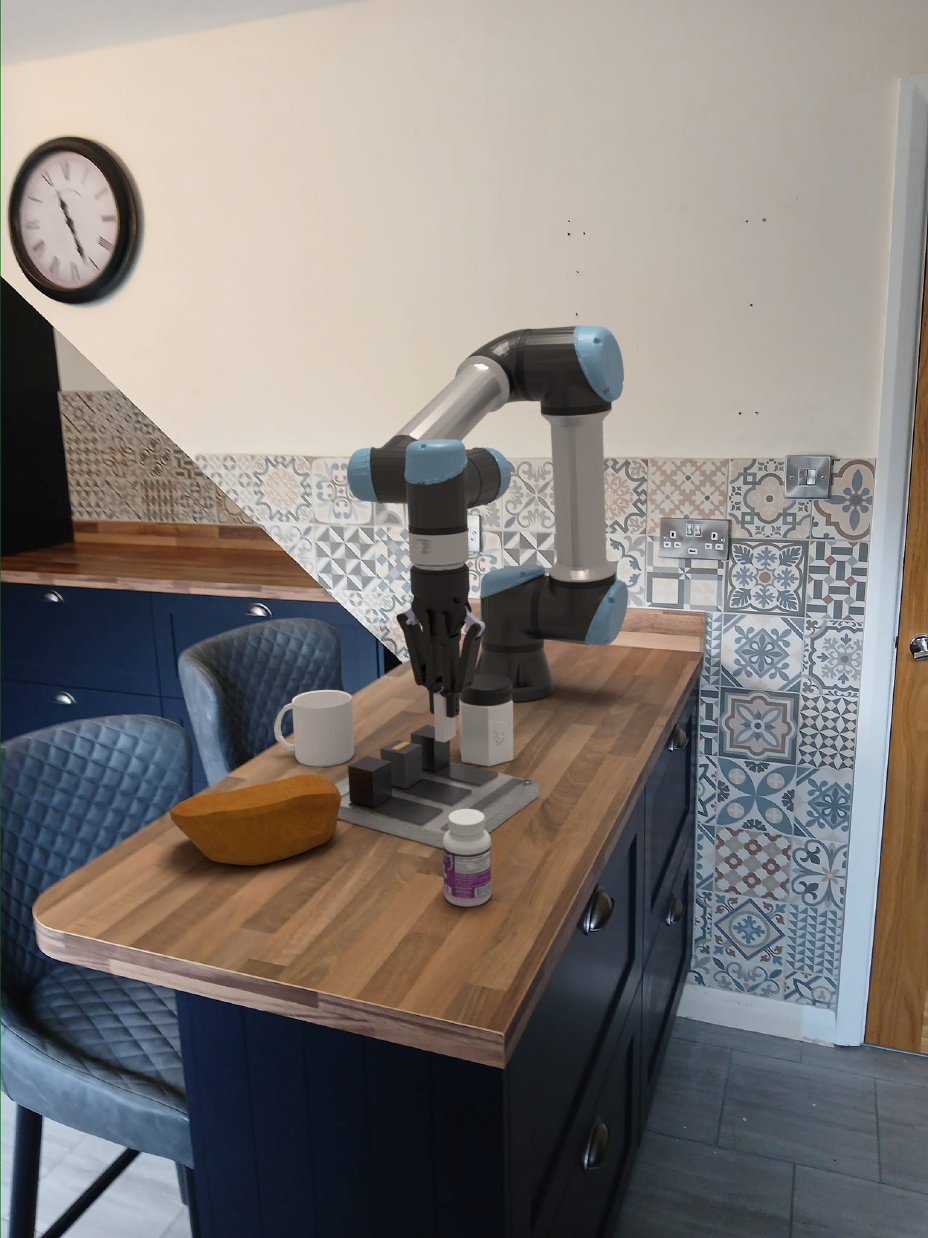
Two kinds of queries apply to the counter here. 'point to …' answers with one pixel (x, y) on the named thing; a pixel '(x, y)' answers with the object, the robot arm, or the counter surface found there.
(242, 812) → the bread
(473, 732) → the jar
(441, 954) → the counter surface
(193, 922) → the counter surface
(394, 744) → the handle
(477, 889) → the pill bottle
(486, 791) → the panel
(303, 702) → the mug
